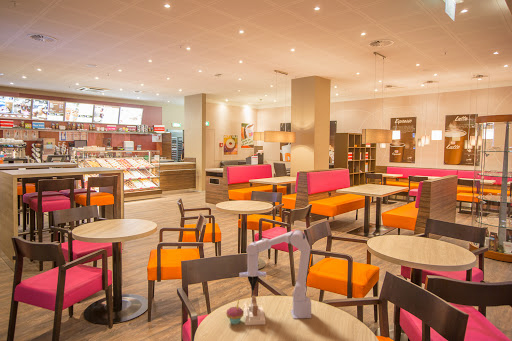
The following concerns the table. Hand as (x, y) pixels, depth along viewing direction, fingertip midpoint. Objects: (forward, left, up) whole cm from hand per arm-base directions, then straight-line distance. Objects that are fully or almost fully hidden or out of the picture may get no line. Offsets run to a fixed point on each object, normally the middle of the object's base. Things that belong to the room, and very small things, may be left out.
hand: (252, 289), depth 171 cm
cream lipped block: (0, +10, -10) cm, 14 cm away
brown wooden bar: (0, +10, -6) cm, 12 cm away
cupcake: (+10, +13, -11) cm, 20 cm away
